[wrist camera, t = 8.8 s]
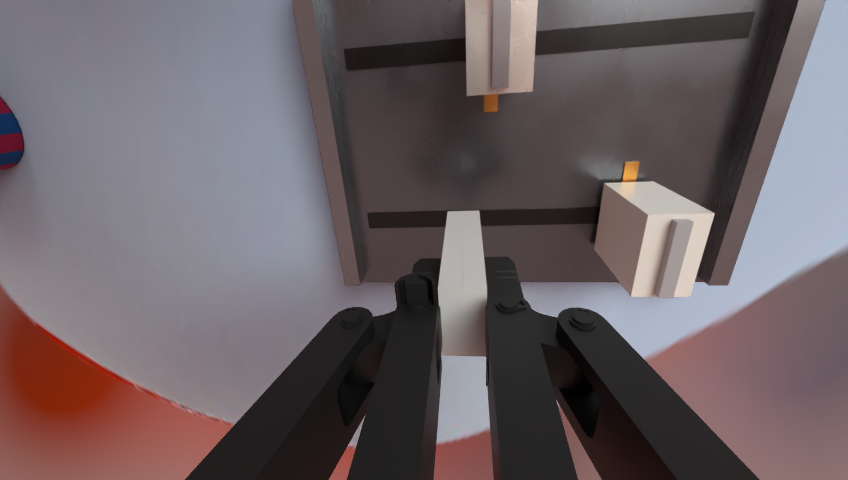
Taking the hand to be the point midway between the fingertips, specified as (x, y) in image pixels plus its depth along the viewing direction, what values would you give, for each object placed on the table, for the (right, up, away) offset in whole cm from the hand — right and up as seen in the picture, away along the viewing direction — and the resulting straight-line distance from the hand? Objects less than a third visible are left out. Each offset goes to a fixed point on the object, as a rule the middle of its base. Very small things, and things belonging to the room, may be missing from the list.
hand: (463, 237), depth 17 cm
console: (+4, +6, +4) cm, 8 cm away
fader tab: (+9, +1, +3) cm, 10 cm away
